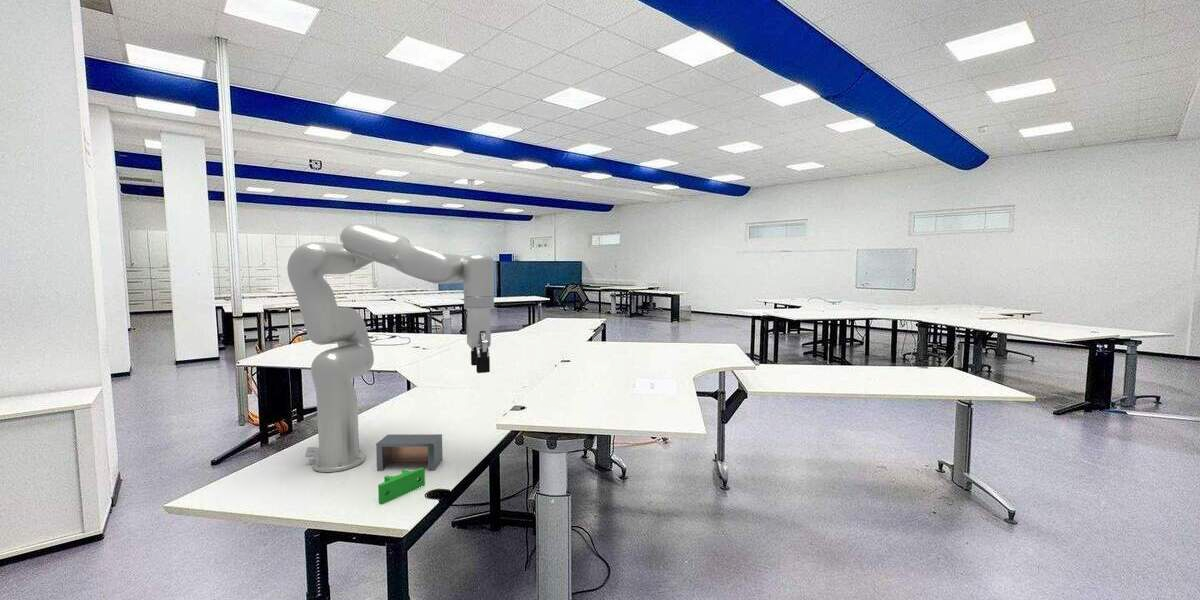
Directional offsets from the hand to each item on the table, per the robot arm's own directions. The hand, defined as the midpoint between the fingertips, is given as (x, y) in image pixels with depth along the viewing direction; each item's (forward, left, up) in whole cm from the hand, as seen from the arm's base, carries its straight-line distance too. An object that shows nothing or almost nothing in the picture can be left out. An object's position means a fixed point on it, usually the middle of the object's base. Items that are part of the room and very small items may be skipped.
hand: (480, 368), depth 120 cm
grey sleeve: (-20, +3, -27) cm, 34 cm away
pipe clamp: (-16, -12, -28) cm, 34 cm away
